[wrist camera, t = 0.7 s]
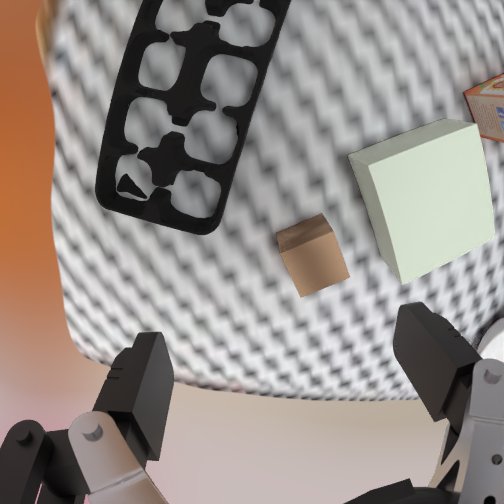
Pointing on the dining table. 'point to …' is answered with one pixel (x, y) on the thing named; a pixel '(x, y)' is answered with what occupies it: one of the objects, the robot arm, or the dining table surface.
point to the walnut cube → (312, 255)
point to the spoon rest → (493, 342)
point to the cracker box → (488, 108)
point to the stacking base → (426, 196)
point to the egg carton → (176, 115)
